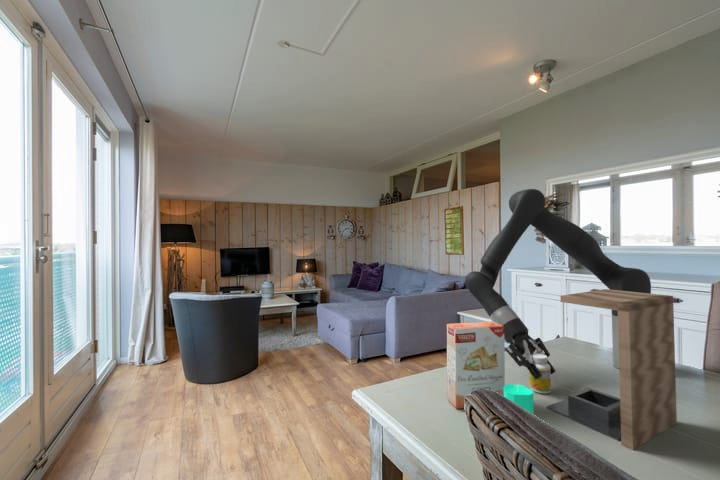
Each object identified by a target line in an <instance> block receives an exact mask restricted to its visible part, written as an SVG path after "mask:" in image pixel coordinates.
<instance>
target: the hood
mask: <svg viewBox="0 0 720 480" xmlns="http://www.w3.org/2000/svg"><path fill="white" fill-rule="evenodd" d="M559 297H560V302H561V303H564V304H565V303H566V304H573V305H578V306H586V307H592V308H599V309H606V310H611V311H612V310H618V339H619V368H618V369H619V370H618V371H619V373H618V375H619V398H620V412H621V440H620V441H621V442H620V443H621V444H620V445H621V446H623V447H626V448H628V449H630V450H631V451H634V450H635V449H637V448H638V447H641V445H644V444H645V443H647V442H649V441H650V440H652V439H654V438H655V437H657V436H659V435H660V434H662V433H664V432H666V431H667V430H668V429H670V428H672V427H673V426H676V425H677V423H678V419H677V418H678V417H677V414H678V413H677V385H676V383H677V380H676V354H675V353H676V350H675V348H676V347H675V344H676V343H675V319H674V317H675V315H674V311H675V310H674V295H667V294H666V295H665V294H659V293H658V294H657V293H651V294H649V293H639V292H629V291H620V290H610V289H609V288H608V289H607V288H604V289H598V290H591V291H584V292H577V293H570V294H564V295H560V296H559Z"/></svg>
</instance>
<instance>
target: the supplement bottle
mask: <svg viewBox="0 0 720 480" xmlns="http://www.w3.org/2000/svg"><path fill="white" fill-rule="evenodd" d="M531 360H532V363H534V364H535V366H536V367H537V369H538V370H539V371H540V373H541V374H542V376H541V377H540V378H539V379H535V378H534V377H533V376H532V374H531V373H530V372H529V371H528V372H529V389H531V390H533V392H535V393H539V394H550V393H551V392H552V377H551V376H552V374H551V368H550V365H549V364H548V363H547V361H549V357H548V358H547V356H546V355H543V354H532V356H531Z"/></svg>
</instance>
